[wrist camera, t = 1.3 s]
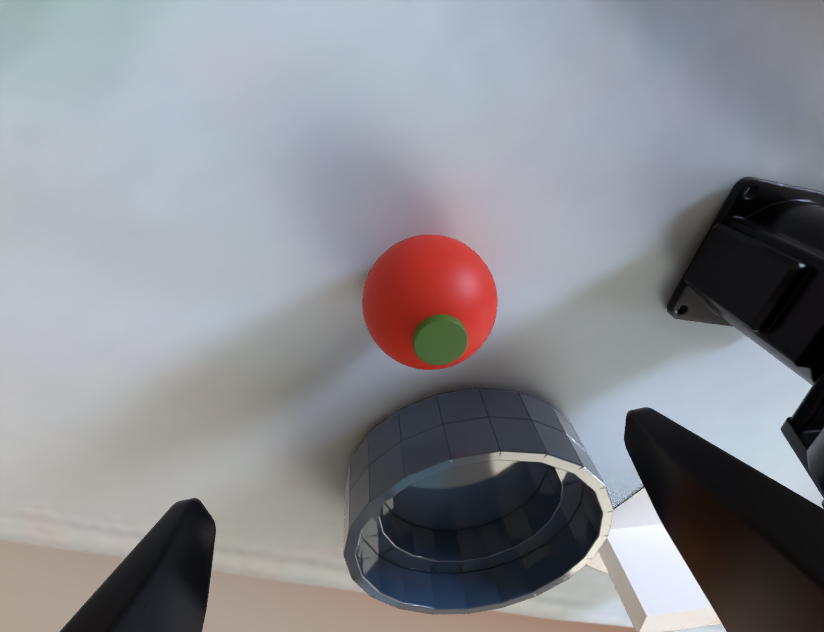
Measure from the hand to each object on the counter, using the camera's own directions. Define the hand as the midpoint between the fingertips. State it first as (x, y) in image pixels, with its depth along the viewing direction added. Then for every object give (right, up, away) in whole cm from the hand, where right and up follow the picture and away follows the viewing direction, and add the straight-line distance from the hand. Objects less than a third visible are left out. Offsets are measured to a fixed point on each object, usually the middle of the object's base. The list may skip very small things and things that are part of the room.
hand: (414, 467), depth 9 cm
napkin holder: (+19, -13, +23) cm, 33 cm away
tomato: (0, +5, +10) cm, 11 cm away
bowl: (+3, -6, +16) cm, 18 cm away
